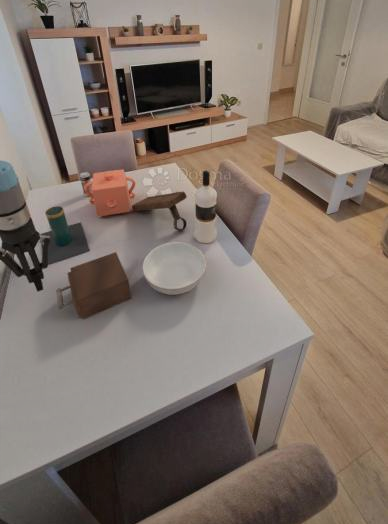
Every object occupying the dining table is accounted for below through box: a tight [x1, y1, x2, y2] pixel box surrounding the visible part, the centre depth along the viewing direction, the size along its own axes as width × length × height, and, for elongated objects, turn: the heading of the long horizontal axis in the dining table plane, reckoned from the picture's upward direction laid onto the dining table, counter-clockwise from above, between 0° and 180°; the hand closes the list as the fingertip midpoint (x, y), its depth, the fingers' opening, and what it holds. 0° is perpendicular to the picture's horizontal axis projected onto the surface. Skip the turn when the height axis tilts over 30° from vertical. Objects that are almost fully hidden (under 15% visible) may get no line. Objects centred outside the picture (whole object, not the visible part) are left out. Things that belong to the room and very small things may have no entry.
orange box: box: [84, 169, 136, 218], centre depth 125 cm, size 25×23×18 cm
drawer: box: [55, 271, 83, 318], centre depth 86 cm, size 18×12×7 cm
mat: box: [39, 221, 90, 265], centre depth 110 cm, size 20×16×1 cm
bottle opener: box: [131, 191, 188, 232], centre depth 122 cm, size 10×16×30 cm
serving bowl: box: [142, 241, 207, 296], centre depth 93 cm, size 21×21×7 cm
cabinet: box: [70, 251, 132, 320], centre depth 87 cm, size 15×14×9 cm
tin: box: [44, 205, 72, 247], centre depth 107 cm, size 6×6×15 cm
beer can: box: [79, 171, 93, 197], centre depth 139 cm, size 5×5×12 cm
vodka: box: [193, 170, 218, 244], centre depth 105 cm, size 9×9×30 cm
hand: (40, 287), depth 79 cm, fingers closed
